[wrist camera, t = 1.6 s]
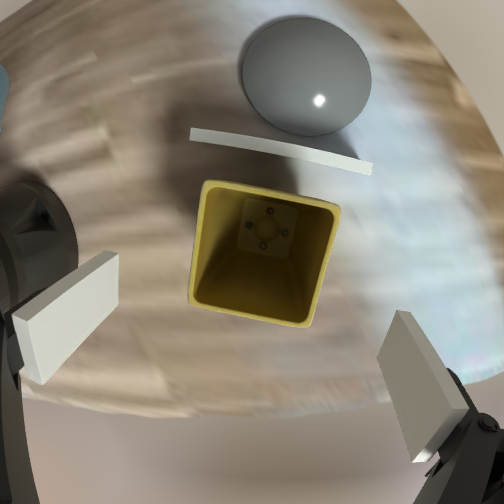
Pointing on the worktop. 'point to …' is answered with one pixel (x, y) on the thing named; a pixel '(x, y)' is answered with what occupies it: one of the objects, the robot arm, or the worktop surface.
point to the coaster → (307, 77)
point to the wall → (281, 149)
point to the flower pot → (260, 252)
